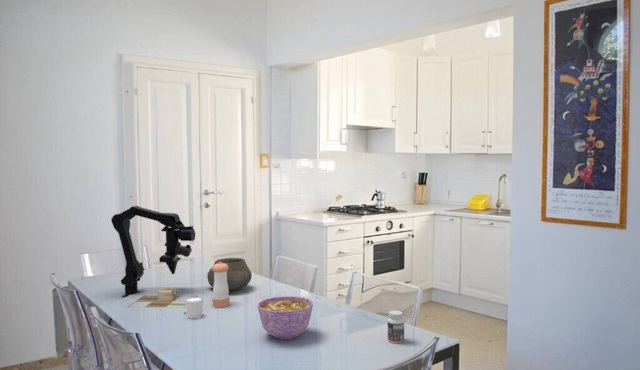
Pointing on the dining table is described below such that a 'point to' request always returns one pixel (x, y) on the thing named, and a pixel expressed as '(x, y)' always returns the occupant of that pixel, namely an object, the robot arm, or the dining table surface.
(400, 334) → the pill bottle
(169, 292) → the birch block
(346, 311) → the dining table surface
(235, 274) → the clay pot
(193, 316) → the white cylinder
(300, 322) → the bowl of food
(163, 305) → the trap deck
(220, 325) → the dining table surface
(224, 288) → the salt shaker
